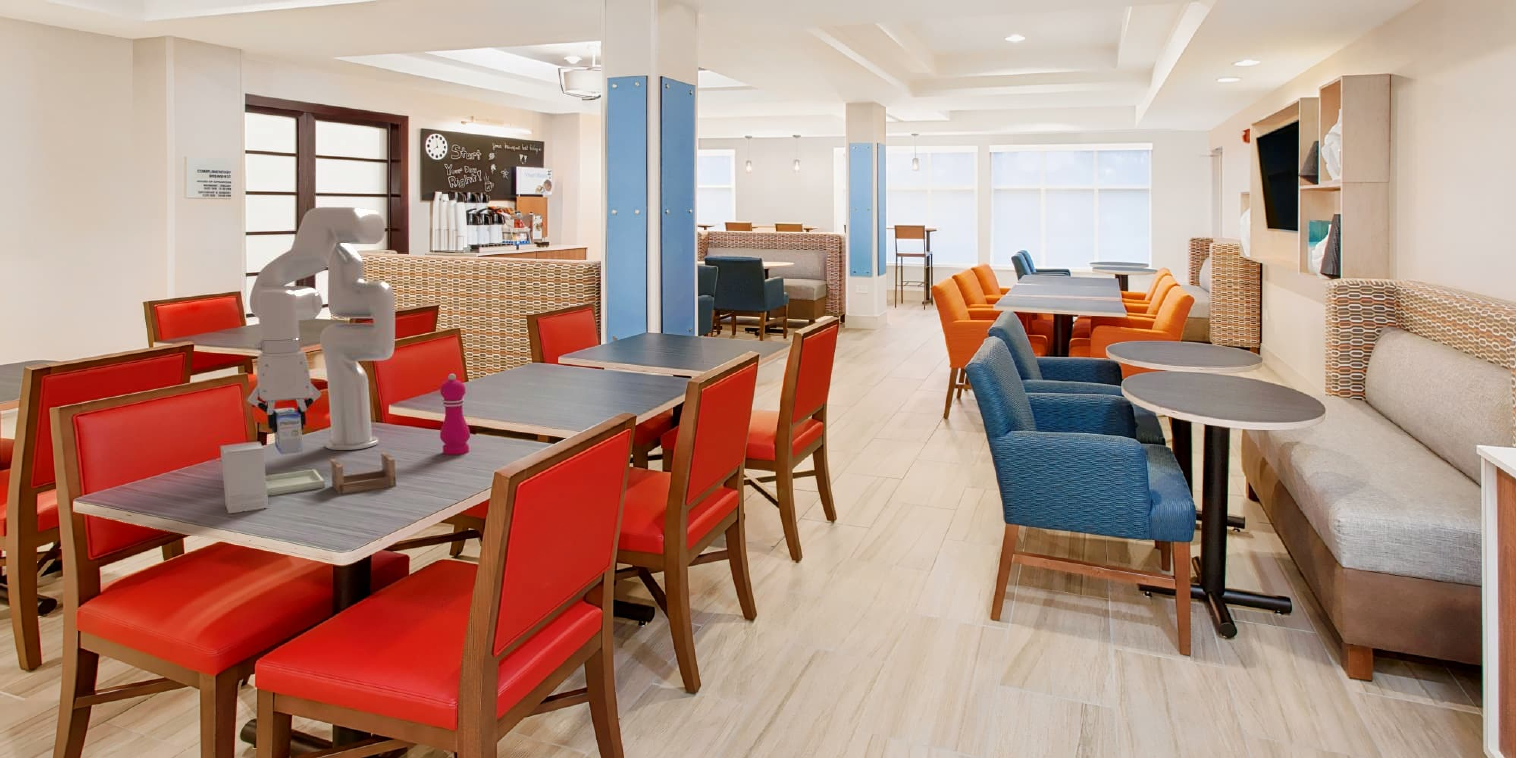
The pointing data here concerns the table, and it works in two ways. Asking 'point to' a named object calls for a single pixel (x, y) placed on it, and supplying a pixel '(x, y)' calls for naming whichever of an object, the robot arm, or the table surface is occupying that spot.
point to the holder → (364, 477)
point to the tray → (294, 482)
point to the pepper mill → (454, 418)
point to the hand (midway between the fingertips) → (287, 429)
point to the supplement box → (244, 477)
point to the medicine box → (288, 431)
